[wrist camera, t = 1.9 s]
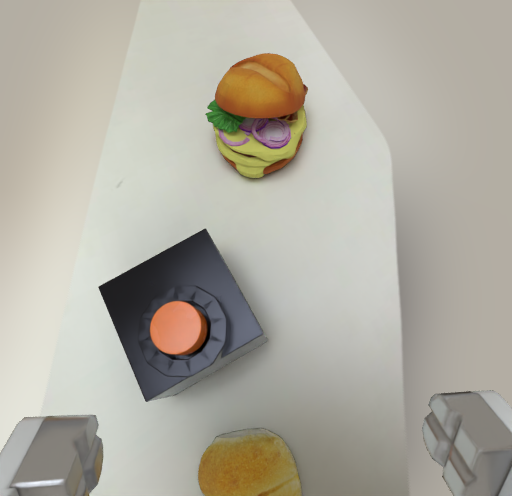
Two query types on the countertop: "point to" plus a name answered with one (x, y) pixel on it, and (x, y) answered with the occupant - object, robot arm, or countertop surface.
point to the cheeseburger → (259, 114)
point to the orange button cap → (178, 328)
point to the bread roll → (249, 466)
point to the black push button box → (194, 293)
